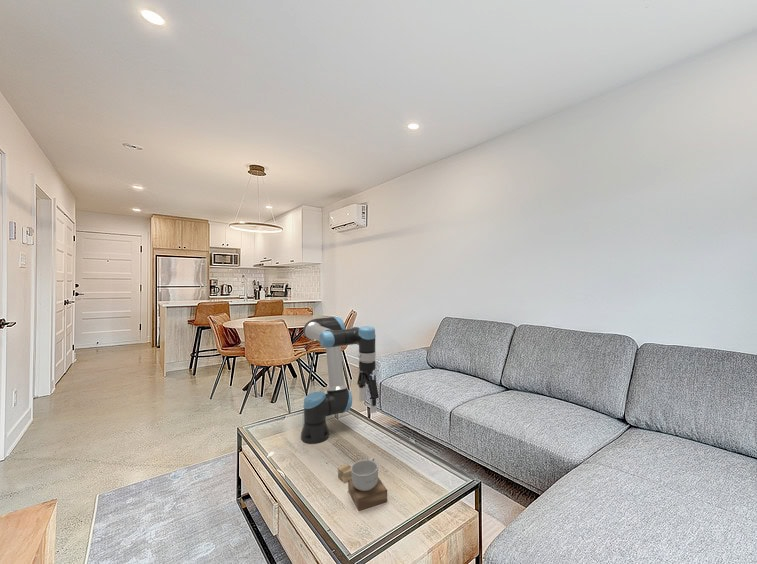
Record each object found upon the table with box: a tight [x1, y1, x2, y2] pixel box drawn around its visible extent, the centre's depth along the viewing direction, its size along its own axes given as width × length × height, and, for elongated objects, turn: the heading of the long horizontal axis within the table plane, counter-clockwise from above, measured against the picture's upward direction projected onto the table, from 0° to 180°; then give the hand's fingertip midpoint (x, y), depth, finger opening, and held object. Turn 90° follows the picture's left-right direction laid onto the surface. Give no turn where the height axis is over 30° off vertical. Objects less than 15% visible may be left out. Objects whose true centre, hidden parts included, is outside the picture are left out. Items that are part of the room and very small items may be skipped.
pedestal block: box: [347, 476, 388, 513], centre depth 132 cm, size 12×12×5 cm
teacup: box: [350, 457, 379, 491], centre depth 132 cm, size 14×11×8 cm
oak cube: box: [337, 463, 352, 484], centre depth 144 cm, size 5×5×5 cm
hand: (367, 406), depth 151 cm, fingers open, 13 cm apart
